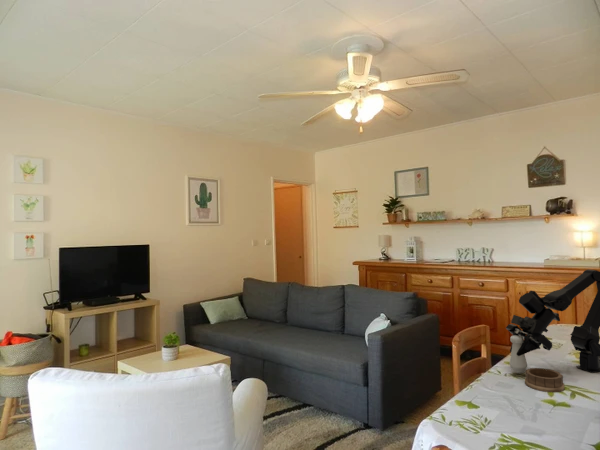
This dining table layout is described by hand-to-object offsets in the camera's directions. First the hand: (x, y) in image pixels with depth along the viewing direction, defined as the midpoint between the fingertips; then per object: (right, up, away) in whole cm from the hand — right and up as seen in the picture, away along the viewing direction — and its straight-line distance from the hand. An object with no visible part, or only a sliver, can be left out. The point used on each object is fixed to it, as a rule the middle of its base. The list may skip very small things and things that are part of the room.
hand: (514, 353), depth 147 cm
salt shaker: (+2, -7, 0) cm, 7 cm away
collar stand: (+5, -8, -11) cm, 14 cm away
